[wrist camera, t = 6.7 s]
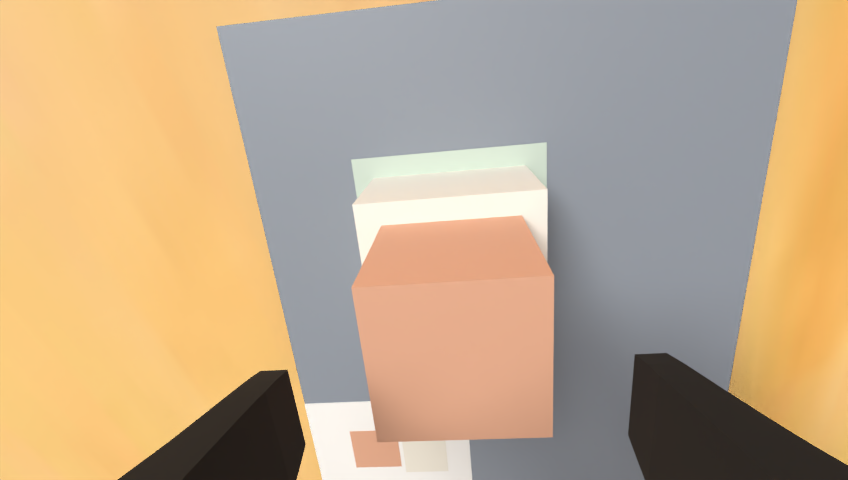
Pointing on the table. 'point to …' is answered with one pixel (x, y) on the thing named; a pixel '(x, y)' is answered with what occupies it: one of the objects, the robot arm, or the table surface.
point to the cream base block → (452, 200)
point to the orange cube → (457, 331)
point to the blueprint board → (550, 162)
